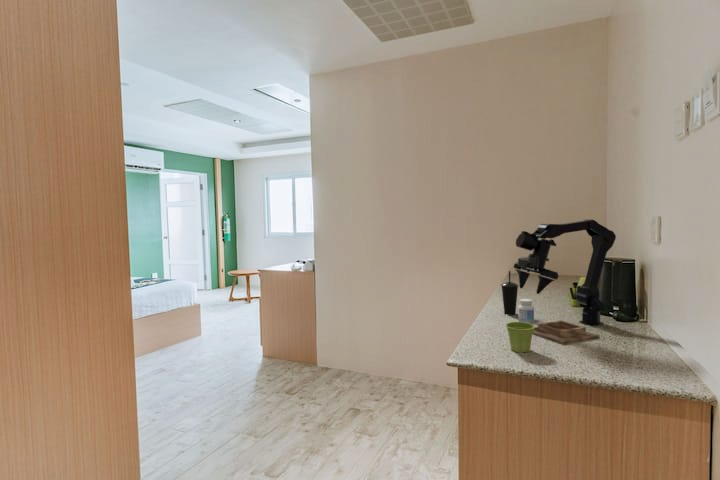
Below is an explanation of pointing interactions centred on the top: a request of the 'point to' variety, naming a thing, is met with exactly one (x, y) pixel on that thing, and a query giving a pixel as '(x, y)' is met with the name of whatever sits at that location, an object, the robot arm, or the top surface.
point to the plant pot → (520, 336)
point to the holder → (563, 332)
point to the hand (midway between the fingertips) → (529, 290)
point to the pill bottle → (526, 311)
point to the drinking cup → (509, 297)
